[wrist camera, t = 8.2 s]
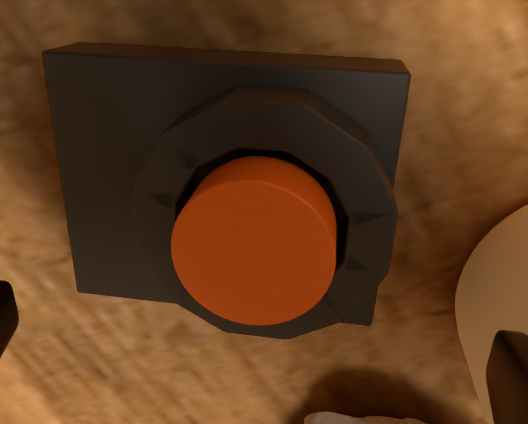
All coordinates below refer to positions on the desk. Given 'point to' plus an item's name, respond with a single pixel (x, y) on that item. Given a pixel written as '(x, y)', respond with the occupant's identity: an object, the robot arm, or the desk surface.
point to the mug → (493, 296)
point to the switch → (256, 241)
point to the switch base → (221, 159)
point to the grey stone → (354, 419)
